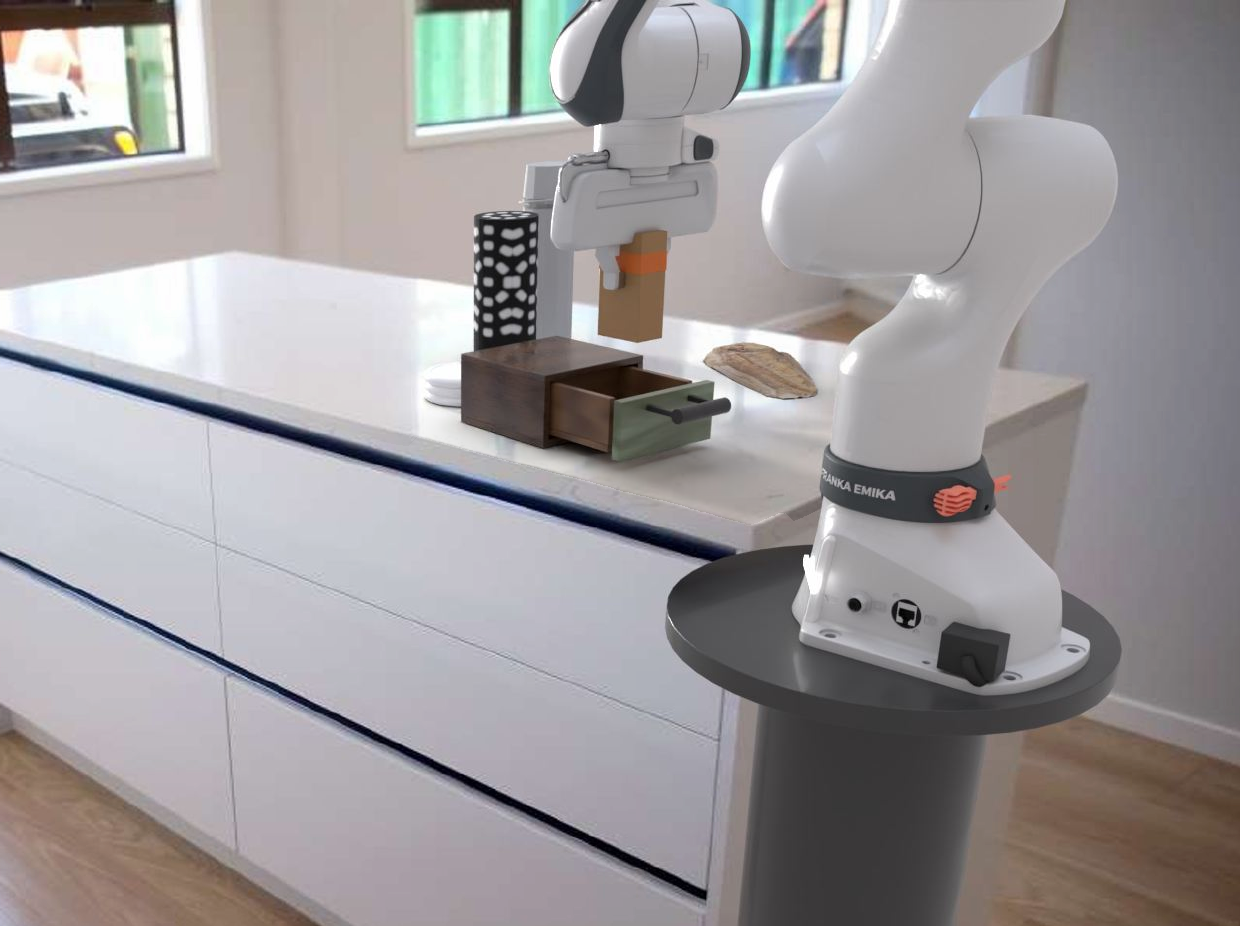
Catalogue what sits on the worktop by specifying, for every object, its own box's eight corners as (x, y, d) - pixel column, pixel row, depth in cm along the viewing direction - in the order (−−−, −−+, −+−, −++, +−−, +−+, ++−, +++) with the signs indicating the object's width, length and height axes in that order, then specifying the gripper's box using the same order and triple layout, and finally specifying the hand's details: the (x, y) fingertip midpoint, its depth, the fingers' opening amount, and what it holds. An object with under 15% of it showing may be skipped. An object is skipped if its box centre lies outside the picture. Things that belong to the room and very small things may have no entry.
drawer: (748, 449, 148) (753, 390, 146) (656, 473, 142) (660, 412, 140) (622, 414, 163) (624, 360, 161) (533, 435, 157) (534, 379, 154)
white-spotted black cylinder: (547, 365, 191) (550, 212, 183) (513, 378, 185) (516, 221, 177) (495, 358, 196) (497, 209, 188) (461, 370, 190) (461, 217, 182)
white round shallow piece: (408, 401, 176) (407, 373, 175) (453, 383, 183) (453, 357, 182) (475, 411, 170) (475, 383, 169) (519, 393, 177) (519, 366, 176)
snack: (663, 338, 148) (668, 230, 144) (637, 343, 147) (642, 234, 142) (621, 330, 153) (626, 225, 149) (596, 335, 151) (599, 229, 147)
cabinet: (640, 425, 162) (643, 355, 159) (542, 448, 155) (544, 375, 152) (554, 401, 174) (556, 335, 170) (460, 421, 167) (460, 353, 163)
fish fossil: (849, 394, 171) (850, 385, 170) (769, 407, 170) (769, 398, 169) (757, 345, 194) (757, 337, 193) (686, 356, 193) (686, 348, 192)
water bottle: (582, 349, 199) (588, 164, 189) (529, 354, 197) (533, 168, 188) (556, 336, 207) (560, 158, 197) (505, 341, 206) (508, 162, 196)
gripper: (582, 156, 135) (578, 302, 140) (731, 140, 145) (722, 277, 150) (538, 153, 140) (536, 294, 145) (685, 138, 150) (678, 271, 155)
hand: (632, 285), depth 148 cm, fingers closed on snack, 4 cm apart
